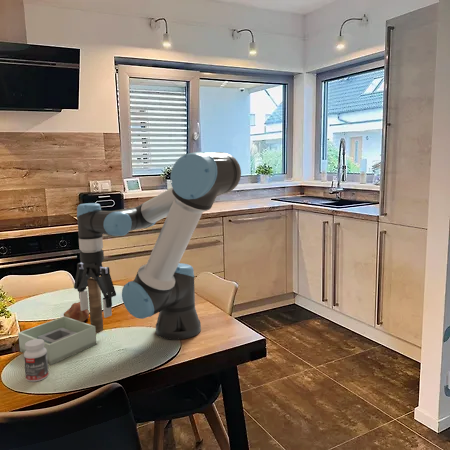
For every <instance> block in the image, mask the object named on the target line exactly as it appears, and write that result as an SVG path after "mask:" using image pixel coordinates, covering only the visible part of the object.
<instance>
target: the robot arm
mask: <svg viewBox="0 0 450 450" xmlns="http://www.w3.org/2000/svg"><path fill="white" fill-rule="evenodd" d="M241 178H242V169H241V166H240V164H239V162H238V160H237V159H236V158H235V157H234V155H232V154H230V153H227V152H224V151H223V152H221V151H219V152H217V151H216V152H214V151H213V152H205V151H204V152H203V151H195V152H194V151H193V152H190V153H186V154H183V155H182V156H181V157H178V158H177V160H176V161H175V163H174V164H173V165H172V168H171V172H170V180H171V183H170V184H171V188H169V189H166V190H165V191H163V192H161V193H160V194H158V195H156V196H154V197H152V198H150V199H149V200H146V201H145V202H143V203H141V204H139V205H137V206H134V207H129V208H122V209H115V210H102V208H101V204H100V203H97V202H88V203H80V204H78V205H77V207H76V220H77V232H78V233H77V234H78V246H79V247H78V248H79V250H80V252H79V260H80V262H78V263H77V262H76V263H77V264H76V274H75V280H74V284H73V285H74V286H73V289H74V290H77V292H78V297H79V302H80V307H81V311H83V310H86V309H88V310H90V308H89V295H88V281H87V280H88V279H89V278H94V280H95V281H97V283H98V285H99V287H100V289H101V294H102V295H103V297H102V312H103V318H104V319H106V318H109V317H111V316H112V315H113V312H112V306H113V300H112V298H113V297H116V296H117V292H116V290H115V286H114V283H113V280H112V275H111V271H110V267H109V266H105V267H104V266H103V261H104V260H105V253H104V249H103V248H104V241H103V239H104V238H103V237H104V236H103V235H105V236H113V237H123V236H125V235H127V234H129V233H130V232H132V231H137V230H141V229H148V228H150V227H153V226H154V225H156V223H157V222H159V221H160V220H162V219H165V221H164V222H163V225H162V227H161V229H160V232H159V234H158V236H157V239H156V241H155V243H154V246H153V248H152V250H151V253H150V255H149V257H148V260H147V262H146V264H142V265H141V266H140V267H138V270H137V272H136V274H135V277H134V279H133V280H131V281H128V282H126V283H125V284H124V285H123V287H122V289H121V297H122V298H121V299H122V303H123V305H124V307H125V310H126V311H127V312H128V313H129V314H130V315H131V316H133V317H134V318H136V319H140V320H141V319H142V320H143V319H147V318H150V317H151V318H152V317H153V316H155V315H156V314H158V316H157V321H156V324H155V334H156V336H158V337H159V338H162V339H165V340H170V341H171V340H174V341H176V340H177V341H178V340H185V339H186V340H187V339H190V338H193V337H195V336H197V335H198V334H200V333H201V331H202V327H201V326H202V324H201V321H200V319H199V315H198V313H197V310H196V298H195V297H196V296H195V277H196V276H195V272H194V271H195V269H194V267H193V266H192V265H190V264H188V263H180V262H181V260H182V259H183V255H184V254H185V252H186V249H187V246H188V245H189V243H190V241H191V238H192V237H193V234H194V232H195V230H196V228H197V226H198V224H199V222H200V219H201V217H202V215H203V213H204V212H208V211H210V210H211V209H212V207H213V204H214V203H215V201H216V199H217V197H219V196H221V195H223V194H227V193H229V192H232V191H233V190H234V189H236V187H238V185H239V184H240V183H239V182H240V181H241Z"/></svg>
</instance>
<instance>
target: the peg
mask: <svg viewBox="0 0 450 450" xmlns="http://www.w3.org/2000/svg"><path fill="white" fill-rule="evenodd" d="M87 281H88V285H87V293H88V307H89V318H90V319H89V321H90V325H93V326H95V329H96V333H100V331H101V332H102V331H103V330H104V319H103V318H104V316H103V301H102V291H101V289H100V287H99V285H98V283H97V281H95V280H94V278H89V279H88V280H87Z"/></svg>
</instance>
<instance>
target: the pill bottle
mask: <svg viewBox="0 0 450 450" xmlns="http://www.w3.org/2000/svg"><path fill="white" fill-rule="evenodd" d="M44 345H45V344H44V340H42V339H33V340H30V341H28V342H26V343H25V349H26V351H25V352H24V353H23V363H24V372H25V379H26V380H27V382H31V383H33V382H34V383H35V382H39V381H43V380H45V379H47V377H48V376H49V364H48V359H47V350H46V348H44Z"/></svg>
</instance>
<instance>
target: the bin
mask: <svg viewBox="0 0 450 450" xmlns="http://www.w3.org/2000/svg"><path fill="white" fill-rule="evenodd" d="M17 333H18V335H17V336H18V343H19V352H21V353H23V354H24V352H25V351H26V349H25V343H26V342H28V341H30V340H33V339H42V340H44V344H45V345H44V348H46V350H47V359H48V365H50V366H51V365H53V364H56V363H59V362H61V361H63V360H64V359H68V358H70V357H72V356H74V355H76V354H79V353H80V352H82V351H85V350H87V349H90V348H91V347H94V346H95V345H97V332H96V329H95V326H93V325H91V323H86V322H85V321H84V322H80V321H77V320H74V319H71V318H68V317H65V316H64V315H62V316H61V317H59V318H56V319H53V320H50V321H47V322H44V323H41V324H39V325H36V326H34V327H31V328H28V329H25V330H22V331H20V332H17ZM78 352H79V353H78ZM69 356H70V357H69ZM67 357H68V358H67Z"/></svg>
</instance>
